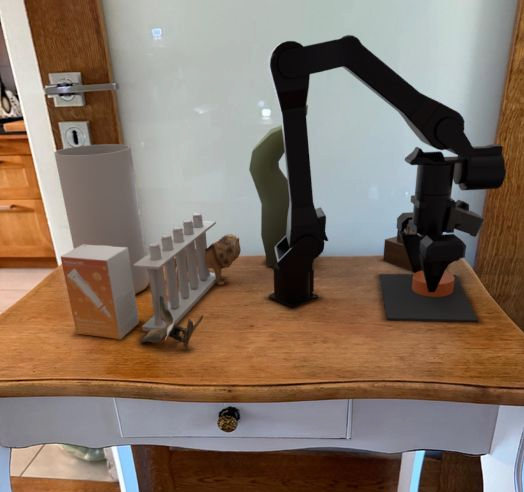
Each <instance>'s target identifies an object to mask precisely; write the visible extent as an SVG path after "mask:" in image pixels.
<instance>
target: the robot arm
mask: <svg viewBox="0 0 524 492" xmlns="http://www.w3.org/2000/svg"><path fill="white" fill-rule="evenodd" d="M338 68H343V69H344V70H345V71H346V72H348V73H349V74H350V75H352V76H353V77H354V78H355V79H357V81H359V82H361V83H362V84H363V85H364V86H366V87H367V88H368V90H370V91H372V92H373V93H374V94H375V95H377V96H378V98H380V99H381V100H383V101H384V102H385V103H386V104H388V105H389V106H390V107H392V108H393V109H394V110H395V111H396V112H397V113H398V114H399V115H400V116H401V118H402V119H403V120H404V122H405V123H406V124H407V126H408V127H409V128H410V130H411V131H412V132H413V133H414V135H415V136H416V137H417V138H418V139H419V141H420V142H421V143H423V144H425V145H426V146H427V145H428V146H429V147H431V148H434V149H436V150H437V151H423V149H422V148H420V147H418V146H416V147H414V149H413V151H411V152H410V153H409V154H408V155H406V156H405V158H404V162H405V163H407V164H409V165H411V166H417V167H416V175H415V176H416V177H415V188H414V189H415V190H414V194H413V195H410V202H411V204H413V208H412V210H413V211H412V212H410V211H409V212H402V213H401V214H400V215H398V217H397V218H396V229H397V230H399V235H400V238H401V240H402V243H403V246H404V249H405V251H406V254H407V257H408V260H409V263H410V266H411V269H412V271H411V272H412V274H415V273H416V272H419V271H420V268H421V265H422V269H423V273H424V277H425V281H426V285H427V289H428V291H429V292H435V291H436V289H437V287H438V285H439V282H440V280H441V278H442V276H443V274H444V272H446V270H447V269H448V267H449V266H450V265H451V264H452V263H454V262H458V261H459V260H461V259H464V258H465V257H466V250H467V244H466V243H464V241H463V240H462V239H461V238H459V236H457V235H456V234H454V233H455V230H457V231H459V232H463V233H465V234H469V236H471V237H473V238H474V237H475V238H476V237H477V236H478V234H479V231H480V229H481V228H482V226H483V224H484V222H485V220H486V219H485V218H484V217H482V216H481V215H480V214H478V213H476V212H474V211H472V210H470V204H469V203H468V202H466V201H464V200H460V199H457V200H455V199H454V198H452V192H453V191H452V190H453V183H454V185H457V186H458V187H459V190H461V191H477V190H478V191H481V190H499V189H500V188H501V187H502V186H503V184H504V181H505V178H506V173H507V169H506V163H505V158H504V154H503V149H504V147H503V146H502V145H501V144H497V143H494V144H487V145H481V146H477V145H476V146H473V145H472V143H471V142H470V139H469V138H468V136H467V135H466V133H465V119H464V117H463V116H462V114H461V113H460V112H458V111H457V110H455V109H453V108H451V107H449V106H448V105H446V104H444V103H442V102H439V101H438V100H436V99H434V98H432V97H430V96H427V95H425V94H423V93H422V92H420V91H419V90H418V89H417V88H415V87H414V86H413V85H412V84H410V83H409V82H408V81H407V80H405V79H404V78H403V77H402V76H401V75H399V73H397V72H396V71H395V70H394V69H392V68H391V67H390V66H389V65H388V64H386V63H385V62H384V61H383V60H381V58H379V57H378V56H377V55H376V54H374V53H373V51H371V50H369V49H368V48H367V47H366V46H365V45H363V43H362V42H361V40H360V39H359V37H357V36H355V35H353V34H352V35H351V34H346V35H342V36H339V37H337V38H336V39H332V40H327V41H322V42H317V43H313V44H308V45H303V44H302V43H300V42H298V41H296V40H287V41H283V42H280V43H278V44H277V45H276V46H274V47H273V48H272V50H271V51H270V53H269V55H268V58H267V69H268V73H269V76H270V80H271V84H272V89H273V91H274V94H275V98H276V102H277V105H278V108H279V112H280V121H281V125H282V131H283V141H284V151H285V153H284V160H285V171H286V178H287V180H288V190H289V199H290V201H289V210H288V217H287V231H286V236H285V237H284V238H283V239H282V240H281V241H280V242H279V243H278V244H277V245H276V246H275V253H276V258H277V265H276V266H274V267H273V293H269V294H268V298H269V299H270V300H273V301H274V302H278V303H279V304H282V305H284V306H286V307H288V308H296V307H298V306H301V305H304V304H307V303H309V302H312V301H315V300H317V299H319V294H317V293H314V291H315V290H314V289H315V285H314V283H315V270H314V269H313V264H314V262H315V260H316V259H318V258H319V257H320V255H322V253H323V252H324V249H325V242H329V238H328V236H327V233H326V227H327V226H326V225H327V215H326V214H325V212H324V210H323V209H322V207H321V206H320V207H317V208H316V207H315V204H314V196H313V184H312V183H313V181H312V170H311V159H310V148H309V147H310V146H309V135H308V133H309V132H308V122H307V116H306V105H308V104H307V102H308V96H309V89H310V77H311V75H313V74H318V73H322V72H325V71H330V70H334V69H338ZM442 151H447V152H449V153H452V154H453V155H455V156H444V155H445V154H444V153H443V152H442ZM444 233H446V234H444Z"/></svg>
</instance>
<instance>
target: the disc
mask: <svg viewBox="0 0 524 492" xmlns="http://www.w3.org/2000/svg"><path fill="white" fill-rule="evenodd" d="M413 274H414V275H413V282H412V290H413V291H414V292H415V293H417V294H420V295H423V296H429V297H443V296H447V295H450V294H451V293H452V292H453V288H454V280H455V278H454V276H453V275H454V274H452V273H449V272H448V271H445V272H444V274H443V276H442V278H441V280H440V282H439V285H438V287H437V289H436V291H435V292H429V291H428V289H427V285H426V281H425V277H424V273H423V271H419V272H416V273H413Z"/></svg>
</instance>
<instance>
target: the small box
mask: <svg viewBox="0 0 524 492" xmlns="http://www.w3.org/2000/svg"><path fill="white" fill-rule="evenodd" d="M60 261H61V262H60V263H61V266H62V270H63V276H64V281H65V285H66V290H67V295H68V300H69V304H70V309H71V314H72V319H73V324H74V327H75V328H74V329H75V333H76V335H85V336H86V335H87V336H92V337H93V336H94V337H101V338H102V337H103V338H108V339H115V340H121V339H123V338H124V337H125V336H126V335H127V334H128V333H130V332H131V331H132V330H134V328H135V327H137V326H138V325H139V324H140V319H139V312H138V304H137V299H136V298H137V297H136V294H135V291H134V285H133V279H132V272H131V266H130V259H129V252H128V248H127V247H112V246H104V245H99V246H98V245H85V244H84V245H81V246H79V247H77V248H75V249H74V248H73V249H71V250H69V251H68V252H66V253H64V254H62V255H61V256H60Z"/></svg>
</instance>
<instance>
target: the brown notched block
mask: <svg viewBox="0 0 524 492" xmlns="http://www.w3.org/2000/svg"><path fill="white" fill-rule="evenodd" d="M382 261H383V262H386V263H389V264H391V265H393V266H397V267H400V268H403V269H406V270H408V271H410V272H412V269H411V266H410V263H409V260H408V257H407V254H406V251H405V249H404V246H403V243H402V240H401V238H400V235H399V230H398V229H397V232H396V236H393V237H389V238H385V239H384V245H383V260H382ZM420 271H423V269H422V265H421V268H420Z"/></svg>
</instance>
